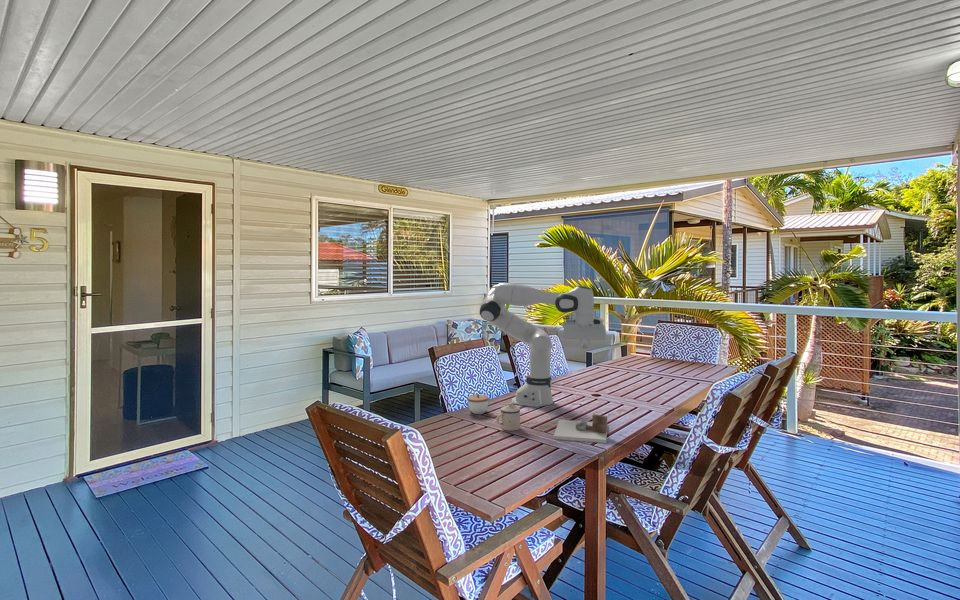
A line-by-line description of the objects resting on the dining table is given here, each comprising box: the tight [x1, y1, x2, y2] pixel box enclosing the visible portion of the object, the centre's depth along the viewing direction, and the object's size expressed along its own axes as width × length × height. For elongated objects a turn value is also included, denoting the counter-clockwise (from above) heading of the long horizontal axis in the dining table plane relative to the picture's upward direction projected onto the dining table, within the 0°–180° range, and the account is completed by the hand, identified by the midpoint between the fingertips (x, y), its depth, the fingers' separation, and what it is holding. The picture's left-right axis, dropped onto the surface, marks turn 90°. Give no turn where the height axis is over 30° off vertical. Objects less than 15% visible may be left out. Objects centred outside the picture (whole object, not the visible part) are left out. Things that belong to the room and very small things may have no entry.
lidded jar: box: [467, 393, 490, 415], centre depth 257 cm, size 11×11×9 cm
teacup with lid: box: [496, 402, 521, 432], centre depth 231 cm, size 12×9×12 cm
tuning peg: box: [575, 413, 608, 434], centre depth 222 cm, size 14×5×7 cm, turn 56°
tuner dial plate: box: [553, 419, 608, 444], centre depth 225 cm, size 22×22×2 cm
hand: (584, 348), depth 242 cm, fingers closed
